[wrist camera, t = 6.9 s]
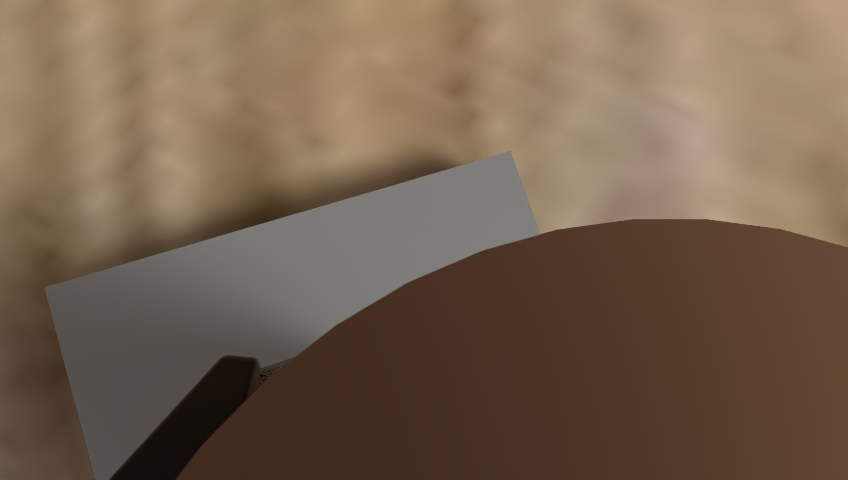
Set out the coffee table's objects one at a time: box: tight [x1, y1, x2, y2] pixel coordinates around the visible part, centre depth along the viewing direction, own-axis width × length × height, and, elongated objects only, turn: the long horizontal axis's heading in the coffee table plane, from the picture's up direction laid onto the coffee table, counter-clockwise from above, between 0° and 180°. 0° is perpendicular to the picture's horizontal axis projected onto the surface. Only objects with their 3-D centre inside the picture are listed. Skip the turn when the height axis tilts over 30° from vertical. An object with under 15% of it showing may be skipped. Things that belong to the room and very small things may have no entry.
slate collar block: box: [44, 151, 540, 480], centre depth 21 cm, size 12×12×3 cm
